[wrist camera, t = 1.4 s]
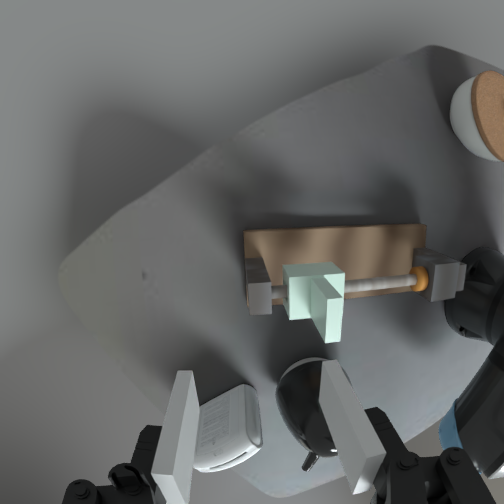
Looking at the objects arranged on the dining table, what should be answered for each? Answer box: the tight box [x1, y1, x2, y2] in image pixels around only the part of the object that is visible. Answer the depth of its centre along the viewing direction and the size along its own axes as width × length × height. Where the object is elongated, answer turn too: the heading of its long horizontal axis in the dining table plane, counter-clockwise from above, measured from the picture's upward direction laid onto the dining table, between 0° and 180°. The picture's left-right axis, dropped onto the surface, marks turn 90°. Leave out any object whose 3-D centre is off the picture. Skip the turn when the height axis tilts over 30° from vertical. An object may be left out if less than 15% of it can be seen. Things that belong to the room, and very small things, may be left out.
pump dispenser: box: [275, 357, 353, 471], centre depth 33 cm, size 10×10×15 cm
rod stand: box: [243, 224, 467, 315], centre depth 32 cm, size 24×9×11 cm, turn 93°
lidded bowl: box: [450, 71, 504, 162], centre depth 28 cm, size 13×13×11 cm
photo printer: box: [193, 384, 263, 472], centre depth 35 cm, size 10×4×12 cm, turn 126°
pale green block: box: [282, 262, 345, 343], centre depth 26 cm, size 5×4×9 cm
